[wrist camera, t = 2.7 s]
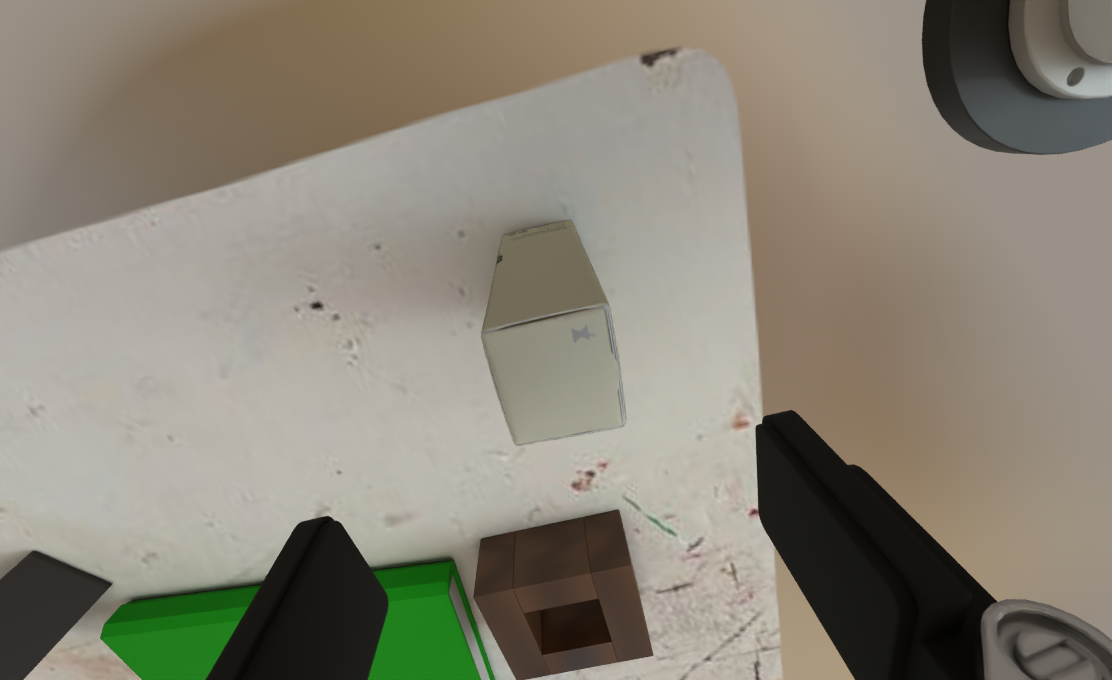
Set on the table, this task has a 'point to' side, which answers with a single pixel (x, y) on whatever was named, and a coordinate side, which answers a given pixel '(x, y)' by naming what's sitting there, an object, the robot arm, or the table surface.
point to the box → (551, 338)
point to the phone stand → (40, 610)
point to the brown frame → (562, 596)
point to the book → (211, 617)
